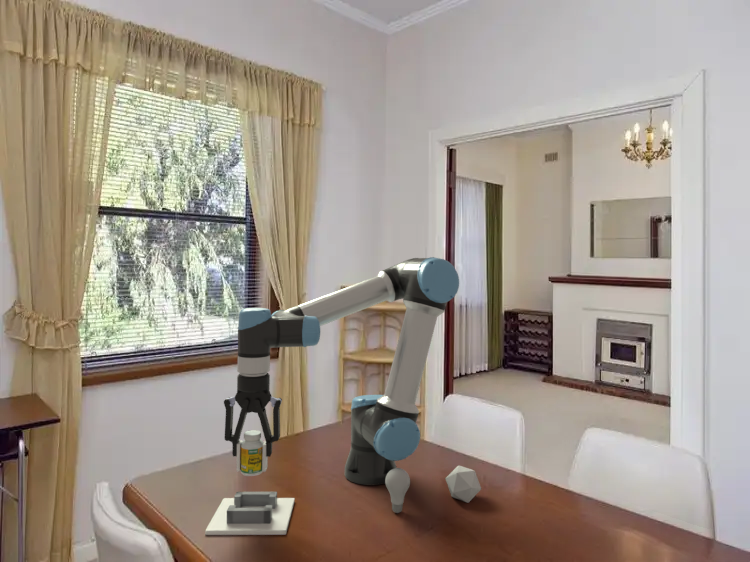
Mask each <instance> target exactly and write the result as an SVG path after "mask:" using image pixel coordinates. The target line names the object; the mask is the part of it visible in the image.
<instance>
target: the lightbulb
mask: <svg viewBox="0 0 750 562" xmlns="http://www.w3.org/2000/svg"><path fill="white" fill-rule="evenodd" d="M410 485H411V478H410V475H409V473H408V472H407V471H406V470H405V469H403V468H401V467H396V468H394V469H392V470H390V471H389V472H388V474H387V475H386V479H385V487H386V488H387V490H388V492H389V494H390V495H389V496H390V502H391V511H392V512H393V513H396V514H399V513H401V512H402V511H403V507H404V506H403V505H404V504H403V503H404V501H405V495H406V493H407V491H408V490H409V488H410Z"/></svg>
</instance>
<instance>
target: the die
mask: <svg viewBox="0 0 750 562" xmlns="http://www.w3.org/2000/svg"><path fill="white" fill-rule="evenodd" d="M477 475H478V474H477V473H476V471H475V470H473V469H471V468H468V467H465V466H462V465H457V466H456V467H455V468H454V469H453V470H452V471H451V472H450V473H449V474H448V475H447V476H446V477H445V482H446V484H447V488H448V490H449V493H450V497H452V498H454V499H457V500H459V501H461V502H464V503H470V501H472V500H473V499H474V498H475V496H476V495H477V494H479V492H480V491H481V490H482V487H481V484H480V482H479V478H478V476H477Z"/></svg>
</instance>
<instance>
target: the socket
mask: <svg viewBox="0 0 750 562" xmlns="http://www.w3.org/2000/svg"><path fill="white" fill-rule="evenodd" d="M294 504H295V497H278V491H236V493H235V494H234V496H233V497H224V498H222V500H221V503H220V504H219V506H218V507H217V509H216V510H215V513H214V514H213V516H212V518H211V520H210V521H209V523H208V525H207V526H206V529H205V530H204V532H205V533H204V536H232V535H233V536H238V535H239V536H240V535H241V536H242V535H243V536H244V535H247V536H250V535H253V536H257V535H260V536H265V535H266V536H268V535H269V536H270V535H272V536H273V535H277V536H278V535H281V536H282V535H287V531H288V528H289V524H290V522H291V521H290V520H291V516H292V513H293V508H294V506H295V505H294Z"/></svg>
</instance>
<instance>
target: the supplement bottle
mask: <svg viewBox="0 0 750 562" xmlns="http://www.w3.org/2000/svg"><path fill="white" fill-rule="evenodd" d="M261 438H262V431H261V430H255V429H253V430H252V429H251V430H246V431H245V432H244V433H243V439H244V440H243V442H242V444H241V470H240V474H242V475H243V476H245V477H254V476H259V475H261V474H262V473H263V472H262V457H263V443H264V441H263V440H262V439H261Z"/></svg>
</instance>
